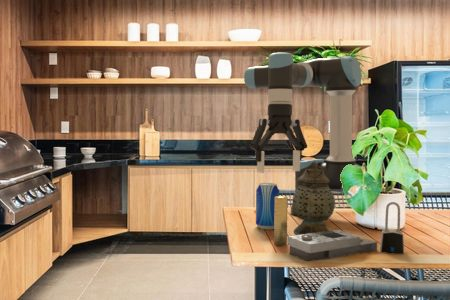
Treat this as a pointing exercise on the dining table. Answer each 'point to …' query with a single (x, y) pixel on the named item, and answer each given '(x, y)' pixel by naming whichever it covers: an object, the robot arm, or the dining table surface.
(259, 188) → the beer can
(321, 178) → the lantern
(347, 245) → the grey device box
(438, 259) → the dining table surface
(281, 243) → the brass pin
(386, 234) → the padlock
